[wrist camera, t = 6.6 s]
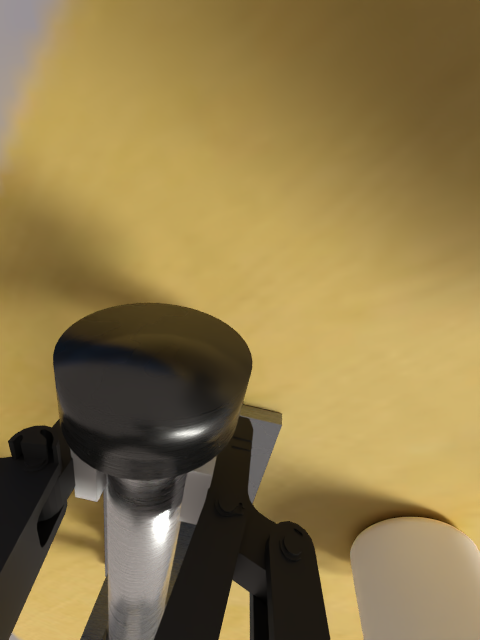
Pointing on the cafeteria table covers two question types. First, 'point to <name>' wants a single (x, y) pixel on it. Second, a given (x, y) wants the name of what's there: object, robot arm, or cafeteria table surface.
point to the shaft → (147, 433)
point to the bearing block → (262, 446)
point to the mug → (416, 581)
